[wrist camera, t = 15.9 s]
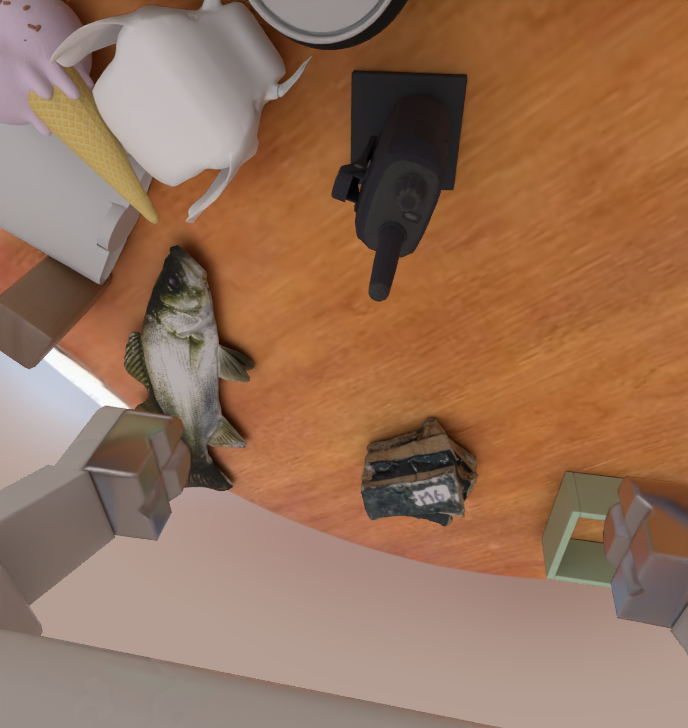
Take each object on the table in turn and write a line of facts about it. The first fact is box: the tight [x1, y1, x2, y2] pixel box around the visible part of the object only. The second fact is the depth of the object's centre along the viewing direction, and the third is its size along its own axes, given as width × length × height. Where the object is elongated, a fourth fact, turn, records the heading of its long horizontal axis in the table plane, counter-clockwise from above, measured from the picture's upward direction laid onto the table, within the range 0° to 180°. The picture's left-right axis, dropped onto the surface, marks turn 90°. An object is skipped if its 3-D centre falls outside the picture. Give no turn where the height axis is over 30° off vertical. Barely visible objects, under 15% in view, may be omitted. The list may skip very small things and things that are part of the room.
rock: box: [361, 419, 478, 526], centre depth 46 cm, size 9×9×6 cm
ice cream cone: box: [0, 0, 159, 224], centre depth 30 cm, size 6×7×15 cm
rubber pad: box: [351, 70, 467, 190], centre depth 32 cm, size 6×6×1 cm
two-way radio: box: [332, 93, 450, 302], centre depth 26 cm, size 6×4×15 cm
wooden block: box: [0, 255, 111, 369], centre depth 39 cm, size 4×4×8 cm
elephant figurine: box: [50, 0, 312, 224], centre depth 29 cm, size 10×12×9 cm
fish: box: [124, 245, 254, 491], centre depth 46 cm, size 26×3×10 cm
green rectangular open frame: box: [542, 472, 623, 588], centre depth 47 cm, size 9×9×4 cm
